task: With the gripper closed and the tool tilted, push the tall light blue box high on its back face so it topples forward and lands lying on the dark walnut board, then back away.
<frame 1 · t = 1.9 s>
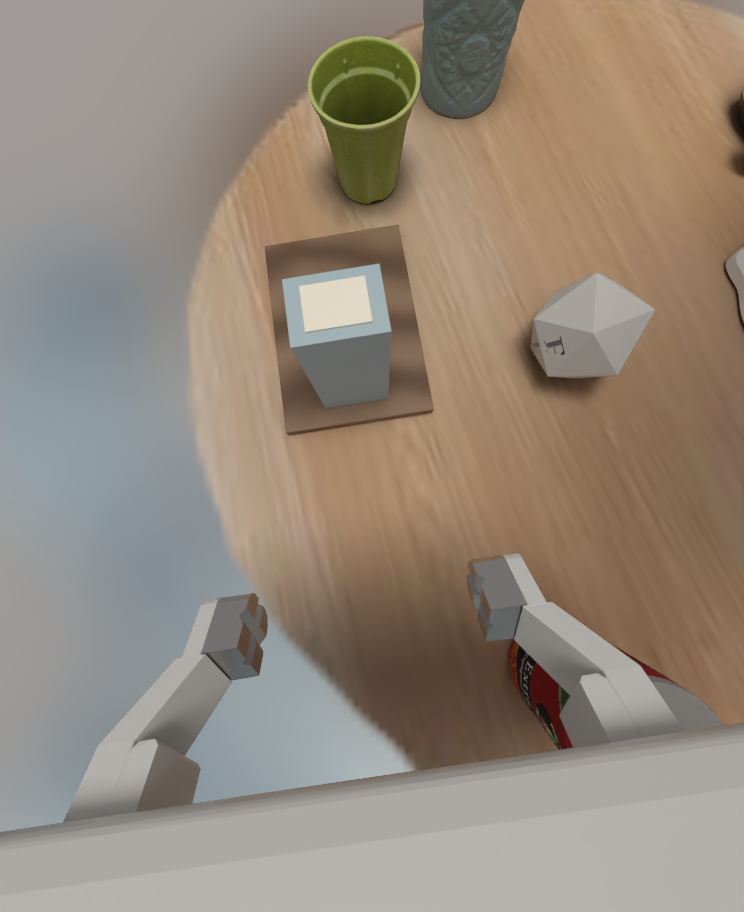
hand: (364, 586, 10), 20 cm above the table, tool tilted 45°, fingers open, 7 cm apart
light blue box: (353, 381, 31), point 1 cm above the table, touching board
die: (559, 353, 32), on the table
canned food: (552, 661, 28), on the table
plant pot: (368, 183, 36), on the table
board: (345, 329, 33), on the table
blue-grey cup: (456, 89, 38), on the table
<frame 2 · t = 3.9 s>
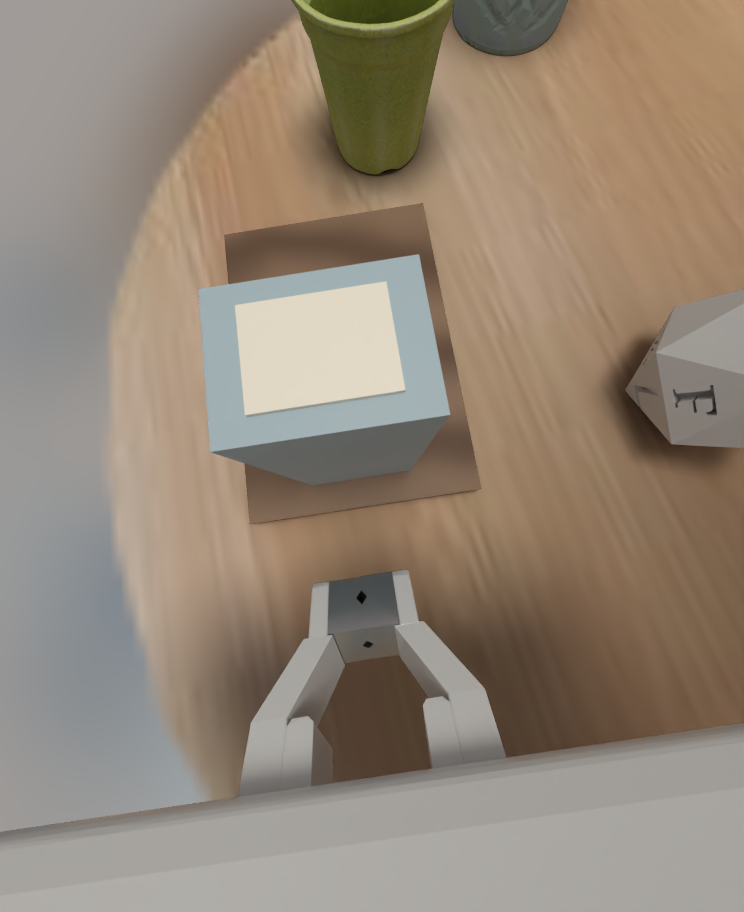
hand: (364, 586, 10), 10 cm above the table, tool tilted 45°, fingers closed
light blue box: (355, 442, 20), point 1 cm above the table, touching board
die: (669, 397, 21), on the table
plant pot: (377, 146, 25), on the table
board: (344, 358, 22), on the table
blue-grey cup: (502, 16, 27), on the table
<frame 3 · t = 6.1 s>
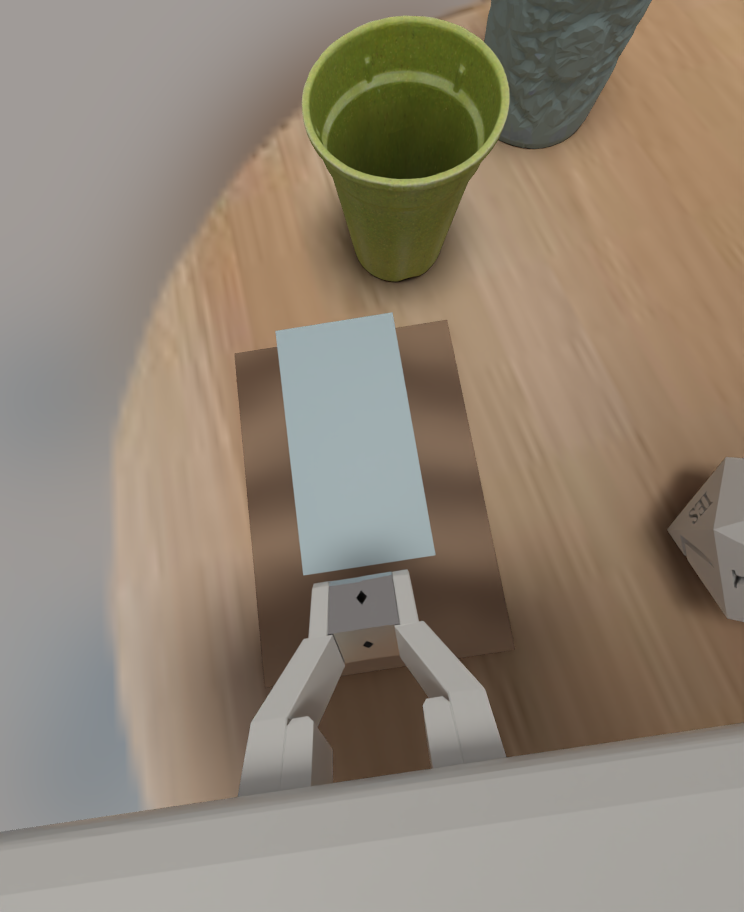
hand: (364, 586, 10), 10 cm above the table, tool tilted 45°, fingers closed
light blue box: (371, 557, 17), point 3 cm above the table, tilted 90°, touching board
die: (714, 537, 20), on the table
plant pot: (396, 248, 24), on the table
board: (364, 490, 21), on the table
blue-grey cup: (526, 103, 25), on the table
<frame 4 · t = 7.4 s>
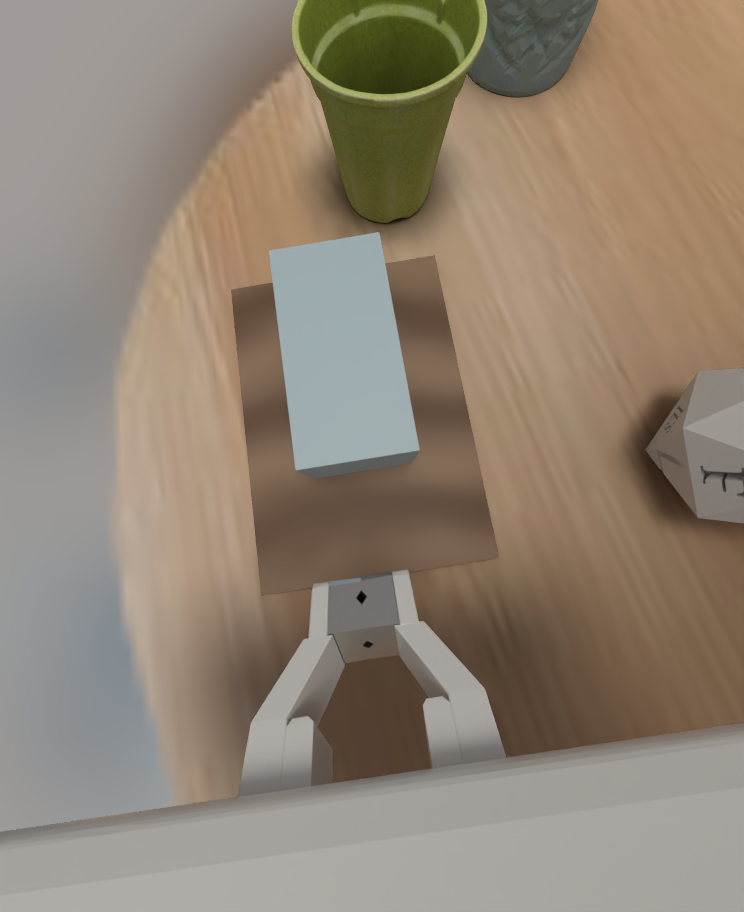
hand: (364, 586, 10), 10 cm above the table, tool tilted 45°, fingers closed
light blue box: (360, 466, 18), point 3 cm above the table, tilted 90°, touching board
die: (690, 457, 21), on the table
plant pot: (386, 192, 25), on the table
board: (355, 417, 22), on the table
blue-grey cup: (512, 55, 26), on the table
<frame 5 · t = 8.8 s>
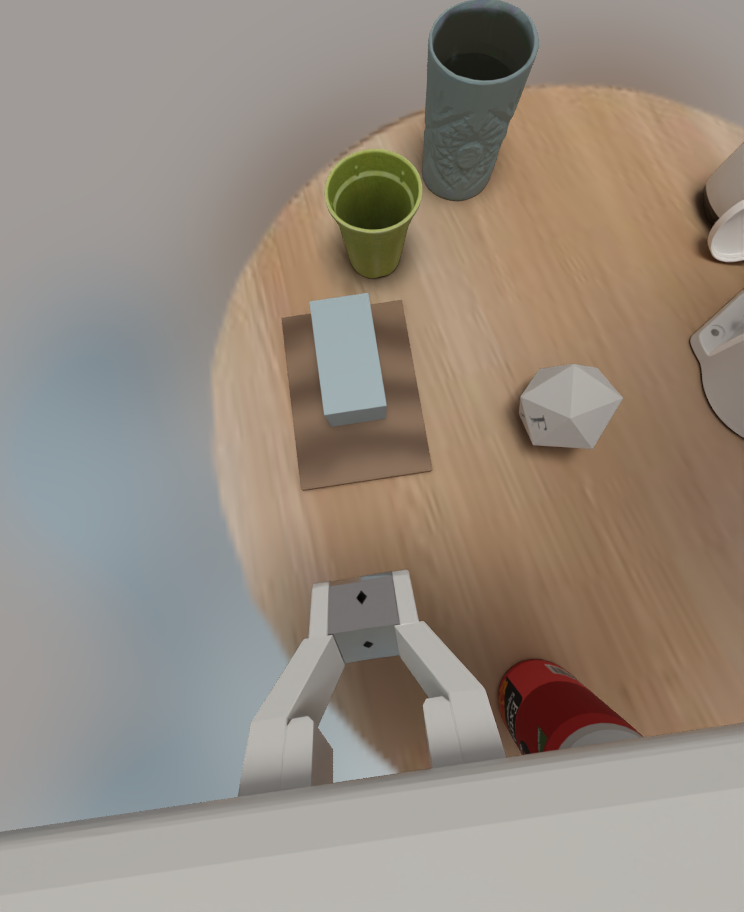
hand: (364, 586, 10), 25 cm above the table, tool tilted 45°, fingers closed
light blue box: (357, 416, 33), point 3 cm above the table, tilted 90°, touching board
die: (544, 418, 37), on the table
canned food: (536, 697, 32), on the table
spread jar: (729, 224, 40), on the table
plant pot: (374, 258, 40), on the table
board: (354, 393, 37), on the table
blue-grey cup: (454, 172, 42), on the table
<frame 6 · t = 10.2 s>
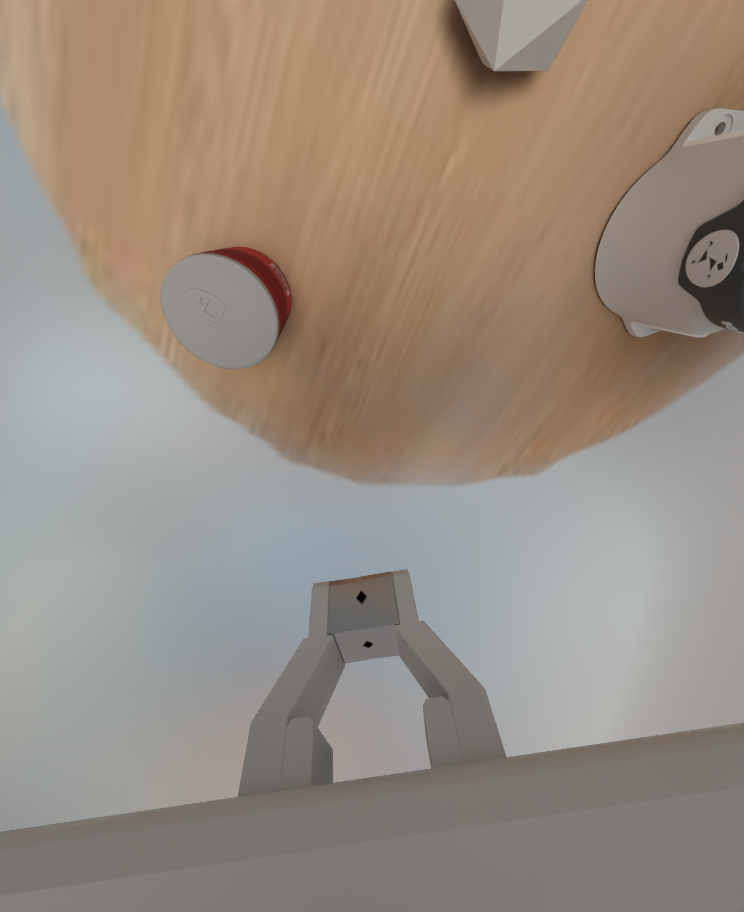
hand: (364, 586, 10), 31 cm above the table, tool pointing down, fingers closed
die: (503, 9, 24), on the table
canned food: (252, 292, 33), on the table
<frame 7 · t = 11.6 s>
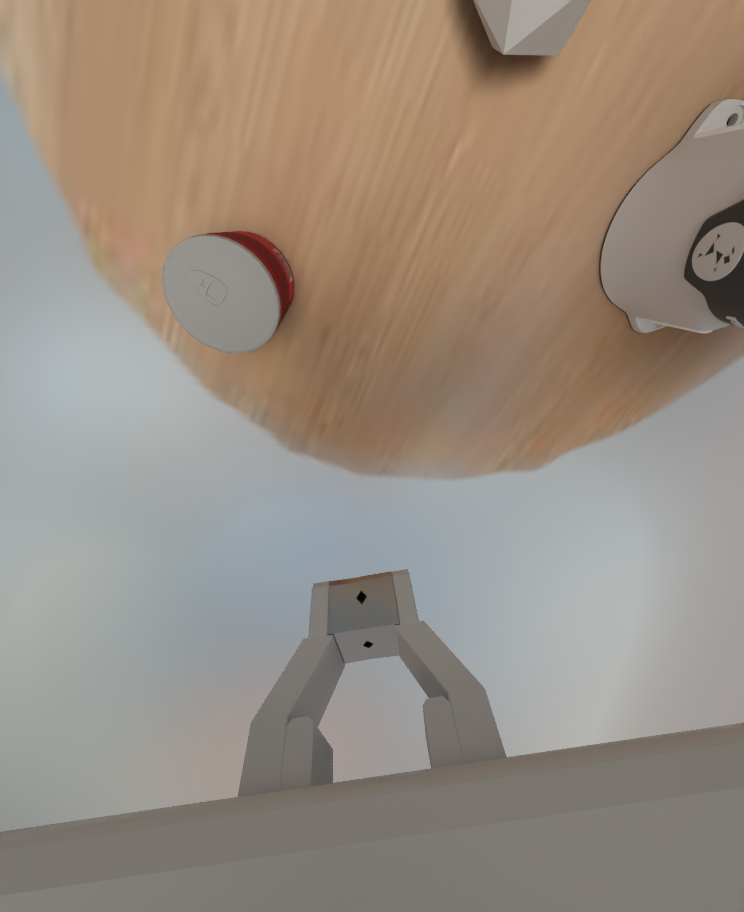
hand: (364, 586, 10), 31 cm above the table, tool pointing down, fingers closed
canned food: (254, 278, 32), on the table
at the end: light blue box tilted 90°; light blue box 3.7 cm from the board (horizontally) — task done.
